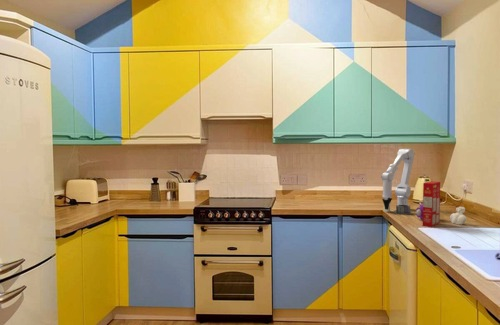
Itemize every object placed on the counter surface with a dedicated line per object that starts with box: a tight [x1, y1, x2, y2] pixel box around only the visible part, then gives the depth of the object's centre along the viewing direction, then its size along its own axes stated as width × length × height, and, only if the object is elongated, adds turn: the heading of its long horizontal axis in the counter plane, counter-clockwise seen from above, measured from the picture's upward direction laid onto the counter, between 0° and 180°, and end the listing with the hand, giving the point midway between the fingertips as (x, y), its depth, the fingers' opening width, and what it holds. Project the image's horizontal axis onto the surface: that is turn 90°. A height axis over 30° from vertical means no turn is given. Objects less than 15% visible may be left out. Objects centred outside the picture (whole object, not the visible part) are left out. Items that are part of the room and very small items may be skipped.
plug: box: [383, 202, 391, 213], centre depth 306 cm, size 4×4×6 cm
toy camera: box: [415, 203, 423, 220], centre depth 274 cm, size 11×14×10 cm
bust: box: [449, 206, 467, 225], centre depth 262 cm, size 12×8×11 cm
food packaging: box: [421, 181, 441, 228], centre depth 258 cm, size 15×5×25 cm, turn 141°
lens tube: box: [393, 204, 413, 216], centre depth 299 cm, size 11×11×5 cm
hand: (387, 208), depth 306 cm, fingers closed on plug, 4 cm apart
